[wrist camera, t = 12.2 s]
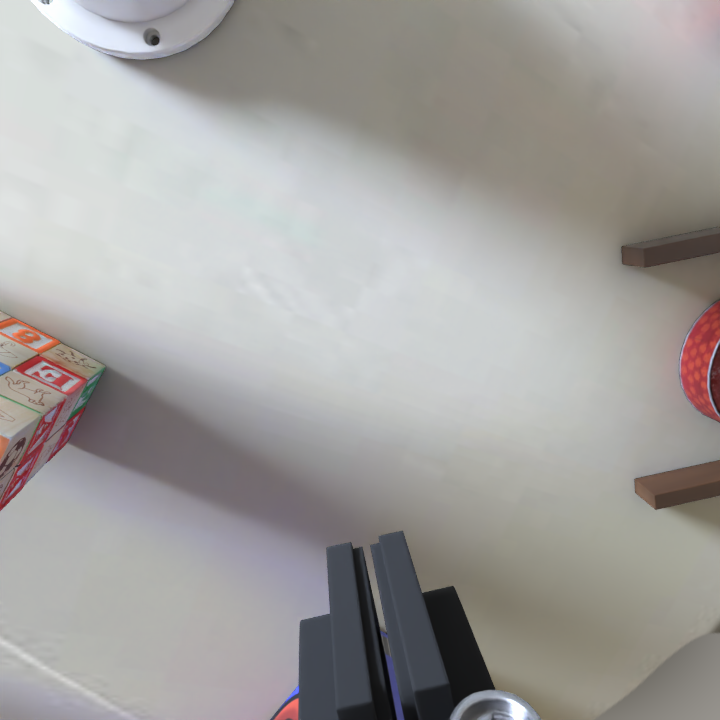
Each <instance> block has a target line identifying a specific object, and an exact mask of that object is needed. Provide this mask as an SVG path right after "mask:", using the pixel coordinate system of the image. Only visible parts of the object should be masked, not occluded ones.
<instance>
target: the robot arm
mask: <svg viewBox="0 0 720 720" xmlns="http://www.w3.org/2000/svg"><path fill="white" fill-rule="evenodd" d="M31 1H32V2H33V3H34V4H35V6H36V7H37V8H38V9H39V10H40V12H42V13H43V14H44V15H45V16H46V17H47V18H49V19H50V20H51V21H52V22H53V23H54V24H55V25H57V26H58V27H59V28H60V29H61V30H63V31H64V32H66V33H67V34H68V35H70V36H71V37H73V38H74V39H76V40H77V41H79V42H81V43H83V44H85V45H87V46H89V47H91V48H93V49H95V50H97V51H99V52H103V53H106V54H110V55H113V56H117V57H120V58H130V59H142V60H145V59H153V58H161V57H167V56H170V55H173V54H176V53H178V52H181V51H184V50H187V49H188V48H190V47H191V46H193V45H195V44H196V43H198V42H199V41H201V40H203V39H204V38H205V37H206V36H207V35H208V34H209V33H211V32H212V31H213V30H214V29H215V28H216V27H217V26H218V25H219V24H220V23H221V21H222V20H223V18H224V17H225V15H226V14H227V12H228V11H229V9H230V8H231V6H232V5H233V3H234V0H54V1H53V3H51V4H49V0H31ZM155 37H157V38H159V39H160V42H159V44H158V45H156V46H153V45H152V40H153V38H155ZM379 542H380V543H377V544H373V545H370V547H371V552H372V557H373V563H374V568H375V573H376V578H377V583H378V588H379V594H380V599H381V604H382V609H383V614H384V619H385V625H386V630H387V635H388V640H389V645H390V651H391V656H392V661H393V666H394V671H395V676H396V682H397V687H398V692H399V697H400V701H401V706H402V711H403V716H404V720H541V718H540V717H539V715H538V714H537V712H536V711H535V710H534V709H533V708H532V707H531V706H530V704H529V703H528V702H526V701H524V700H523V699H521V698H520V697H518V696H517V695H515V694H511V693H508V692H505V691H502V690H495V687H494V685H493V682H492V680H491V677H490V675H489V672H488V670H487V667H486V665H485V662H484V660H483V657H482V655H481V652H480V650H479V647H478V645H477V642H476V640H475V637H474V635H473V632H472V630H471V627H470V625H469V622H468V620H467V617H466V615H465V612H464V609H463V607H462V604H461V602H460V599H459V597H458V594H457V592H456V590H455V588H454V587H453V586H451V587H446V588H442V589H437V590H433V591H429V592H424V593H422V592H421V588H420V585H419V582H418V578H417V575H416V572H415V569H414V565H413V562H412V559H411V556H410V552H409V549H408V546H407V542H406V539H405V536H404V533H403V531H399V532H394V533H390V534H385V535H381V536H379ZM326 549H327V568H328V584H329V601H330V614H327V615H322V616H318V617H314V618H309V619H305V620H301V622H300V638H299V699H298V720H397V716H396V710H395V705H394V699H393V693H392V688H391V682H390V677H389V671H388V666H387V660H386V655H385V650H384V646H383V641H382V636H381V632H380V627H379V622H378V618H377V613H376V608H375V604H374V599H373V594H372V590H371V585H370V580H369V575H368V571H367V566H366V561H365V557H364V552H363V548H362V547H359V548H354V549H353V547H352V543H351V542H349V543H345V544H340V545H335V546H331V547H327V548H326Z"/></svg>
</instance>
